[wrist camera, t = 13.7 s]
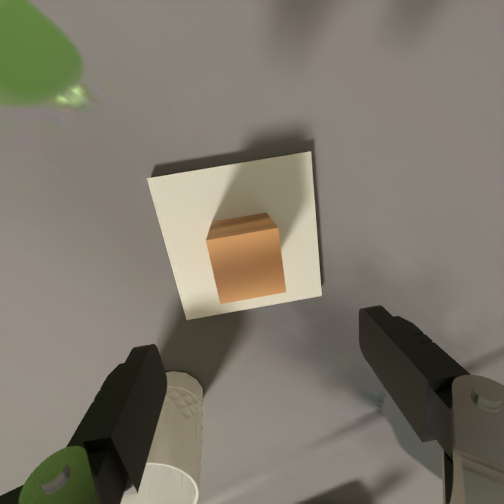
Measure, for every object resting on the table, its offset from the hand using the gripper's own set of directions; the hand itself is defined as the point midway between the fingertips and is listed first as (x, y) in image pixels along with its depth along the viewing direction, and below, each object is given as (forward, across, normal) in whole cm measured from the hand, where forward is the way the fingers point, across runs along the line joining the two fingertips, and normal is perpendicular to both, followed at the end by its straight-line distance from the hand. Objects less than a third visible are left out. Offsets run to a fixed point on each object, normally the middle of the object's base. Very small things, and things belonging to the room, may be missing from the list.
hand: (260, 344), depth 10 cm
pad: (+16, 0, 0) cm, 16 cm away
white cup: (+16, +11, +17) cm, 26 cm away
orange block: (+15, 0, 0) cm, 15 cm away
